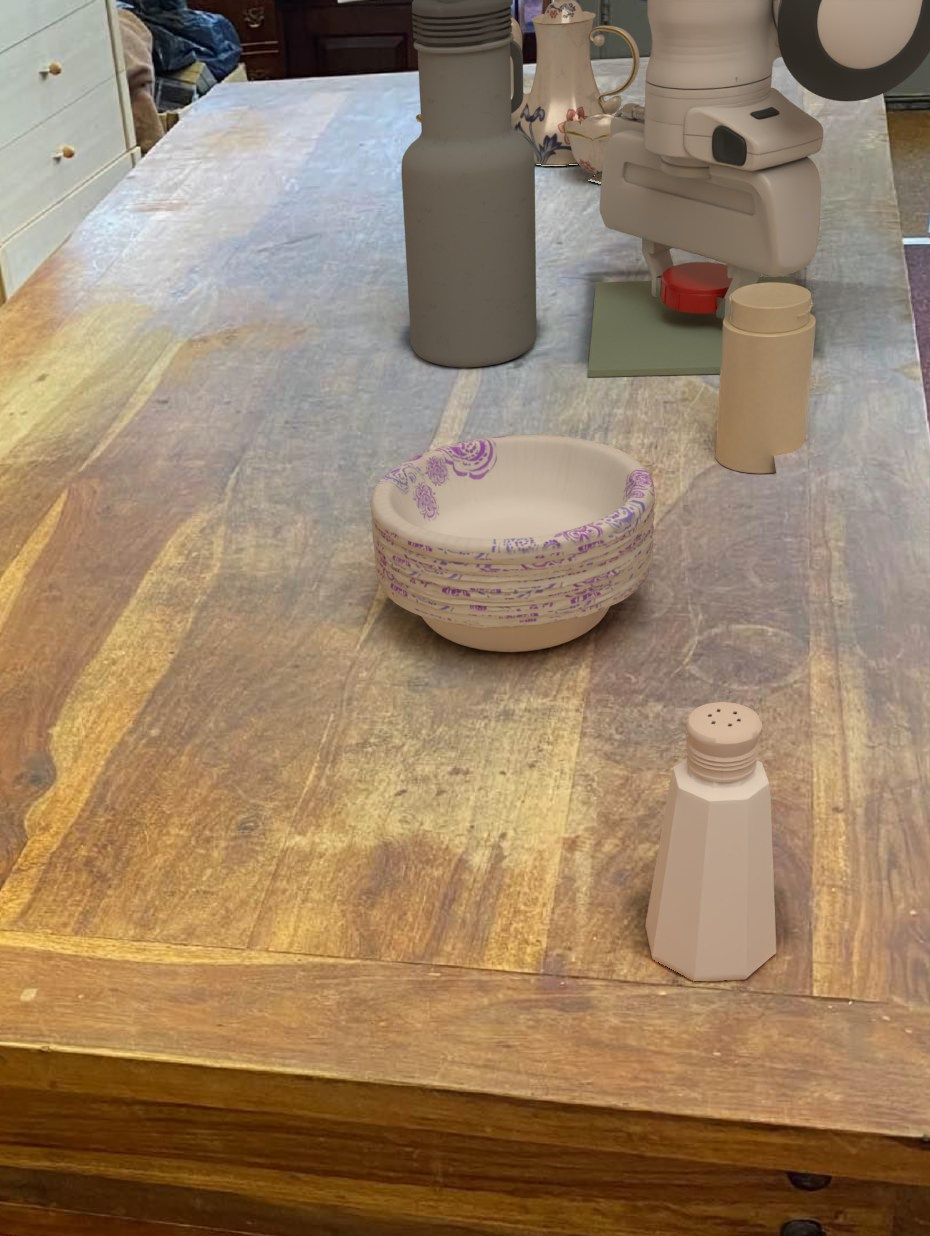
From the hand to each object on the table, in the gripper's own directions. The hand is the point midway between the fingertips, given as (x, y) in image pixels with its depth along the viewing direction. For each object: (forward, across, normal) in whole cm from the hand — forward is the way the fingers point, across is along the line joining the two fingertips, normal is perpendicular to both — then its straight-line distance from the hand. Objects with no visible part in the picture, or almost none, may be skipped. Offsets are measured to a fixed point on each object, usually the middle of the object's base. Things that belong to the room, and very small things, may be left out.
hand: (698, 308), depth 125 cm
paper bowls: (+2, +27, -38) cm, 47 cm away
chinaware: (+2, -48, +23) cm, 53 cm away
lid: (-2, 0, 0) cm, 2 cm away
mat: (+2, 0, 0) cm, 2 cm away
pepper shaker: (+2, +55, -49) cm, 74 cm away
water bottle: (+2, -9, -15) cm, 17 cm away
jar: (+2, +21, -14) cm, 25 cm away
